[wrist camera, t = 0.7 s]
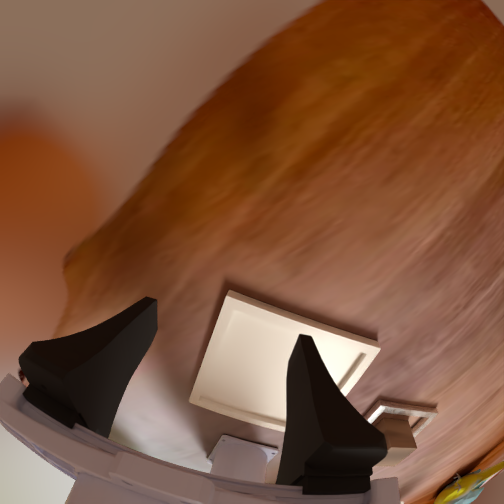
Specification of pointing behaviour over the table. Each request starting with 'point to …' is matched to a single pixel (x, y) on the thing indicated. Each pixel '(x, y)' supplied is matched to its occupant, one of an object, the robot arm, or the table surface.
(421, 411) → the frame
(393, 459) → the walnut block
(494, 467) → the decorative bird
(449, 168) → the table surface
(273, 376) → the tray
